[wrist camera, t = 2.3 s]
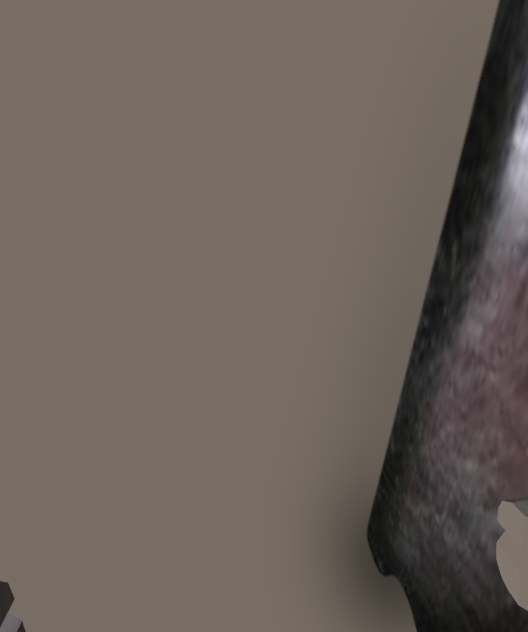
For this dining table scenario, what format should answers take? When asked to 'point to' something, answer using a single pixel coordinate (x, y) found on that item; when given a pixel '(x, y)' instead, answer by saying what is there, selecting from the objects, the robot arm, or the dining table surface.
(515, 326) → the dining table surface
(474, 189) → the dining table surface
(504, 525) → the robot arm
